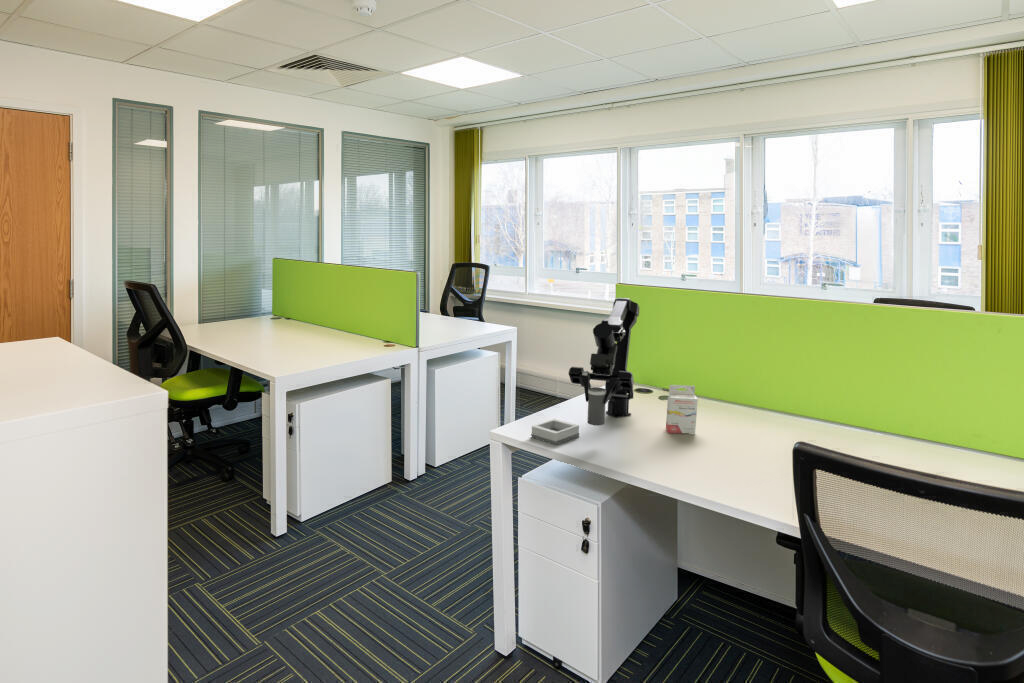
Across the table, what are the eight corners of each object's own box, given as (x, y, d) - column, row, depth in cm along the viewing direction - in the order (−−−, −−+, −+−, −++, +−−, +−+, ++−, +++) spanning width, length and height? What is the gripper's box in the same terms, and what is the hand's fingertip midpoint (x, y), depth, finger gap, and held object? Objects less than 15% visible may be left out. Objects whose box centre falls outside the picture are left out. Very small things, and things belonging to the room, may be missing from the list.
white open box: (554, 429, 196) (554, 418, 196) (579, 436, 190) (579, 425, 189) (531, 437, 189) (531, 426, 188) (556, 444, 182) (556, 433, 181)
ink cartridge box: (667, 433, 193) (670, 388, 191) (665, 428, 198) (667, 384, 195) (695, 434, 192) (698, 389, 190) (692, 429, 197) (695, 385, 195)
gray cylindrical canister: (598, 419, 184) (599, 386, 182) (608, 424, 180) (609, 390, 178) (583, 421, 182) (584, 388, 180) (593, 426, 177) (594, 392, 175)
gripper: (571, 340, 184) (559, 384, 175) (633, 344, 177) (624, 391, 169) (577, 360, 192) (566, 404, 184) (637, 366, 186) (628, 411, 177)
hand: (595, 402), depth 178 cm, fingers closed on gray cylindrical canister, 5 cm apart
